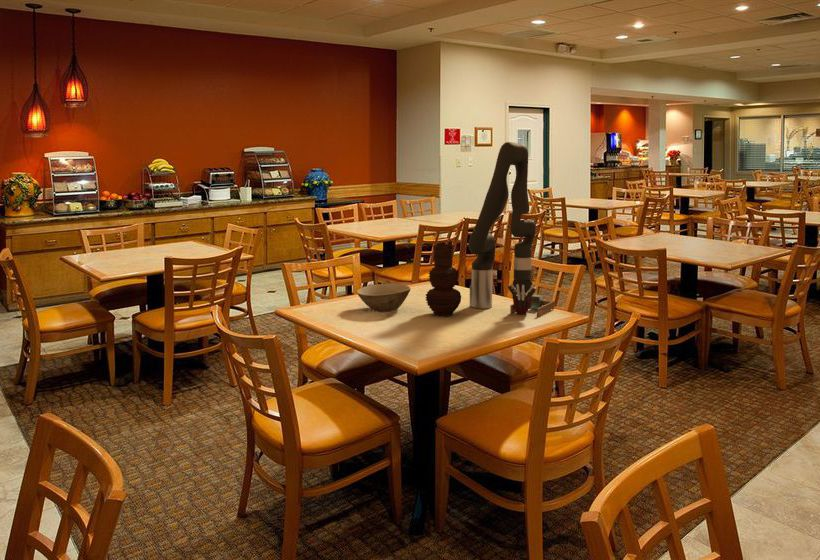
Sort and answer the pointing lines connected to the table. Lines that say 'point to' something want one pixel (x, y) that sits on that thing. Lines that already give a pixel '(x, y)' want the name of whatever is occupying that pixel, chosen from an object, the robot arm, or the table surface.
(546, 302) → the caddy
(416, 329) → the table surface
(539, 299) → the tea tin
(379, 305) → the bowl
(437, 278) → the vase
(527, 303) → the mug
